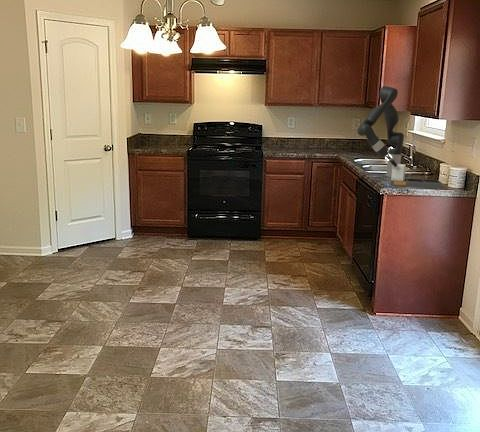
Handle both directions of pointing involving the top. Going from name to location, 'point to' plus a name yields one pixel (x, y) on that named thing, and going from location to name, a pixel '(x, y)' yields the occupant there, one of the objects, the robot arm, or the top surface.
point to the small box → (398, 172)
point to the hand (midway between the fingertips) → (395, 165)
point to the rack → (416, 183)
